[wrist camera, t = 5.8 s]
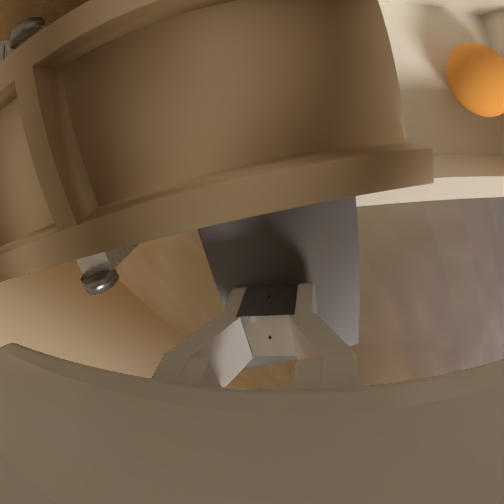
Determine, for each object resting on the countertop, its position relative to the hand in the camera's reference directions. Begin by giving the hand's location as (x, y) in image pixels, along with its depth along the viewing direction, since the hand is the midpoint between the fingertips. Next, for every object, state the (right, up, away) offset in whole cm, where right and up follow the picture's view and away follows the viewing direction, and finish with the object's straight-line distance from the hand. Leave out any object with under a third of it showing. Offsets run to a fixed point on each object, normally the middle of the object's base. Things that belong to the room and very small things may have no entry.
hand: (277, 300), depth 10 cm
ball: (+10, +10, -1) cm, 15 cm away
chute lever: (-6, +5, +4) cm, 9 cm away
